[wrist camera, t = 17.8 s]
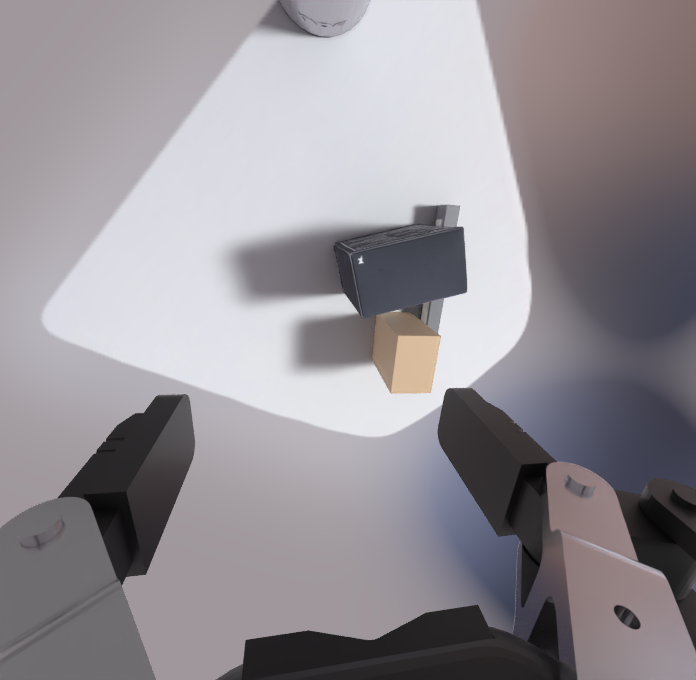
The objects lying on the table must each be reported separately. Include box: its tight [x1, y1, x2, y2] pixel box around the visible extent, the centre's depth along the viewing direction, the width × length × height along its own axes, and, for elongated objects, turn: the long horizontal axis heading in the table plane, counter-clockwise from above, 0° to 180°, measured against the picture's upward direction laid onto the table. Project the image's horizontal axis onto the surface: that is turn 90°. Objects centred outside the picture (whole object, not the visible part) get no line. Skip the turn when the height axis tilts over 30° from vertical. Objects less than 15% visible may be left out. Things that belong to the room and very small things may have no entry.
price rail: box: [420, 205, 460, 334], centre depth 40 cm, size 22×2×2 cm, turn 176°
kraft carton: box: [372, 312, 441, 393], centre depth 38 cm, size 5×6×9 cm
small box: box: [333, 224, 467, 318], centre depth 33 cm, size 11×6×10 cm, turn 102°
